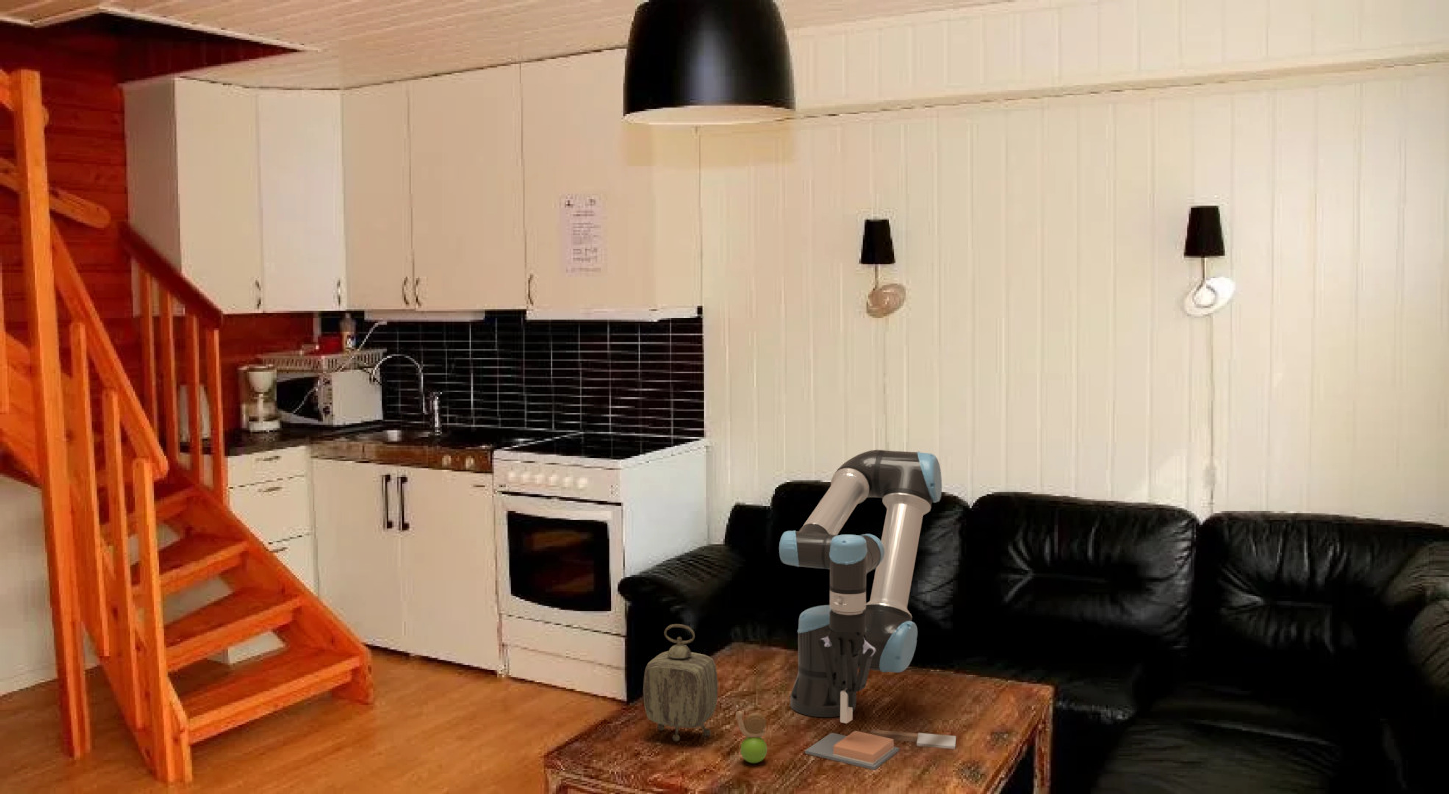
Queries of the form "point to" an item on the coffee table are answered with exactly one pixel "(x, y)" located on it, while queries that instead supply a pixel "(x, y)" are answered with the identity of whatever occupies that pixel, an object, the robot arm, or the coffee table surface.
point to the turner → (919, 738)
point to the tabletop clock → (680, 687)
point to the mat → (826, 751)
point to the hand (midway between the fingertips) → (846, 720)
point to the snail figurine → (752, 736)
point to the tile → (863, 747)
